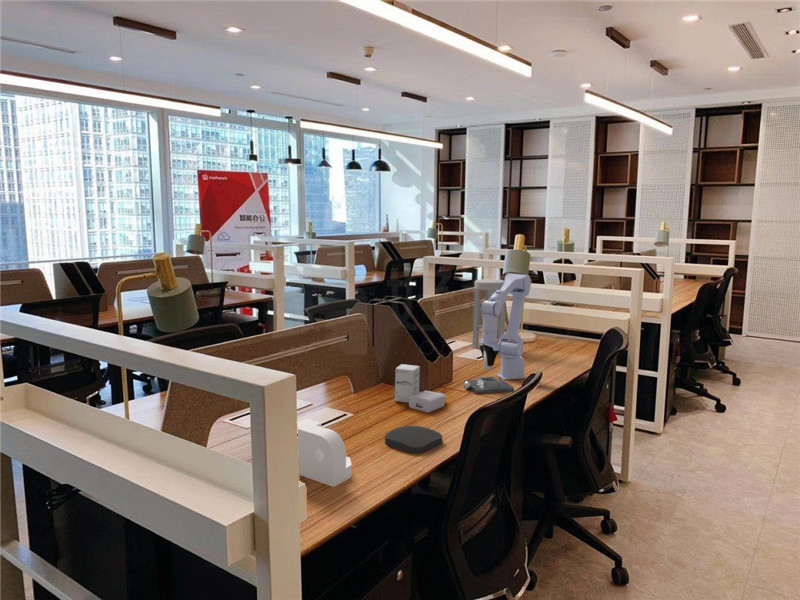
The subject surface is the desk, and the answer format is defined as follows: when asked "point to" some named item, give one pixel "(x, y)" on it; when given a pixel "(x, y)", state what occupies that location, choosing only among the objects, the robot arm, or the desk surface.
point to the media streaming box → (413, 439)
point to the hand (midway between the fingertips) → (488, 364)
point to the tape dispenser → (322, 454)
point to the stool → (490, 288)
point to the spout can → (486, 362)
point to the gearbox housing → (488, 385)
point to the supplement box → (406, 382)
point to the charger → (427, 401)
